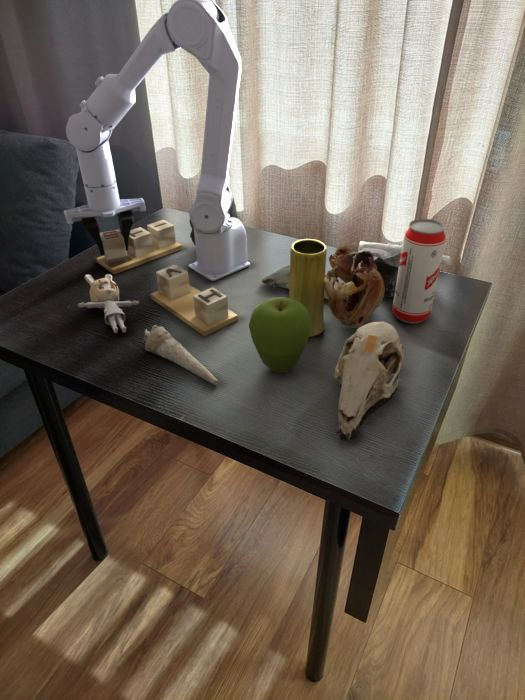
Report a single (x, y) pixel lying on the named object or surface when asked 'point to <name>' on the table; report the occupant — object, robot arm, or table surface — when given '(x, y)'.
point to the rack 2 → (192, 301)
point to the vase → (309, 279)
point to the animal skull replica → (367, 374)
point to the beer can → (418, 270)
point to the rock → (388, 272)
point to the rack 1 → (144, 247)
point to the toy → (107, 301)
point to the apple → (280, 332)
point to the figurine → (392, 250)
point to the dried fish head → (353, 286)
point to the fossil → (283, 279)
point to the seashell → (174, 352)
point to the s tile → (113, 244)
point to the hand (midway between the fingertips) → (113, 251)
